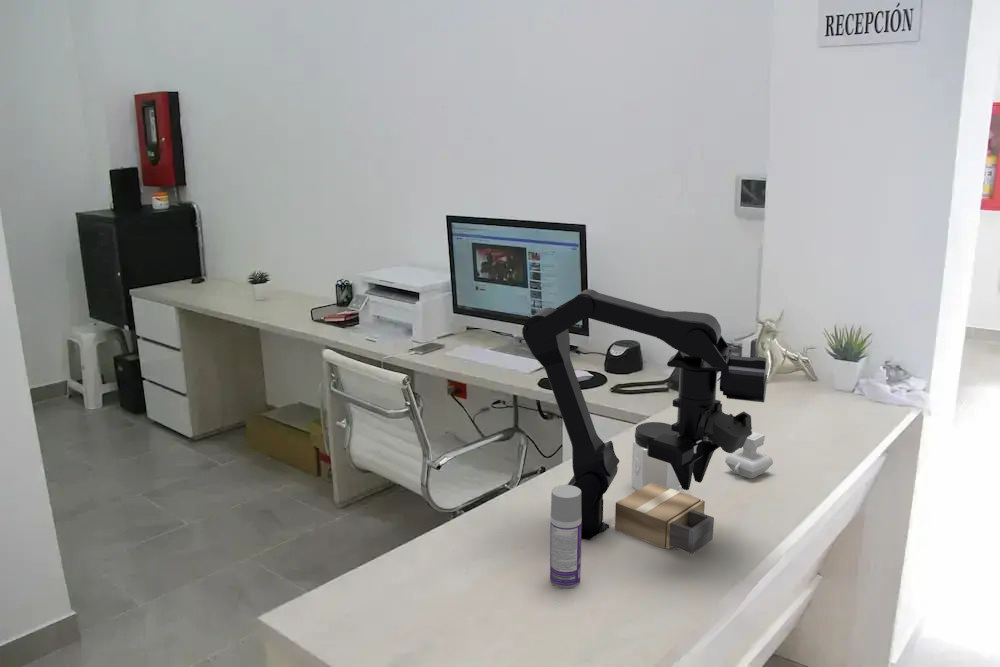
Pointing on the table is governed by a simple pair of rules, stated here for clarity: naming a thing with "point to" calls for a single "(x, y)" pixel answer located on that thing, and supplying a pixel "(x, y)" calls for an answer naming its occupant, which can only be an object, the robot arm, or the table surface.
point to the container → (565, 536)
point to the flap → (690, 529)
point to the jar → (649, 467)
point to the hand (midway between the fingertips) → (691, 485)
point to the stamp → (750, 458)
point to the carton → (651, 512)
